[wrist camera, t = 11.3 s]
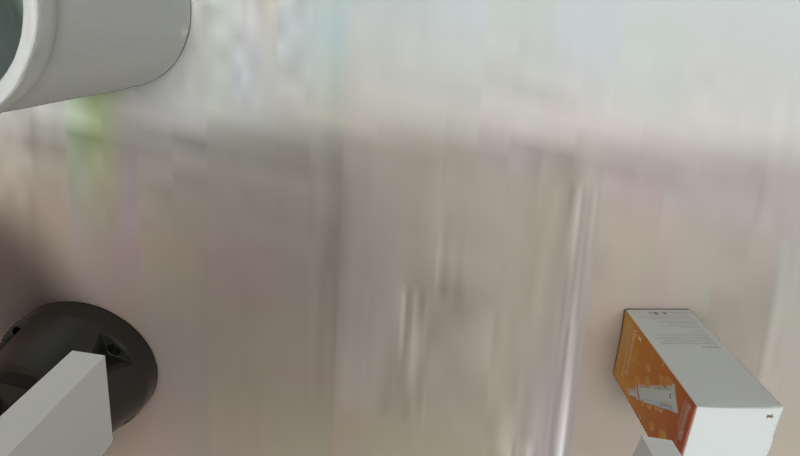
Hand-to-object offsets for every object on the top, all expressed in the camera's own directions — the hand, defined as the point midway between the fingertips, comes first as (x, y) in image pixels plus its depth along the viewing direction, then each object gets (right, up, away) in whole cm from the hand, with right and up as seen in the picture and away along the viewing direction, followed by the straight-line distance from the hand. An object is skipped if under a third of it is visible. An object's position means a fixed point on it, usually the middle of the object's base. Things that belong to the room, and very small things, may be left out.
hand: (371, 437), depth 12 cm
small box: (+26, -6, +35) cm, 44 cm away
